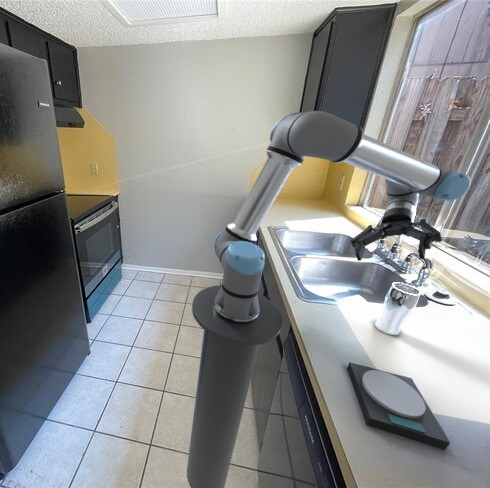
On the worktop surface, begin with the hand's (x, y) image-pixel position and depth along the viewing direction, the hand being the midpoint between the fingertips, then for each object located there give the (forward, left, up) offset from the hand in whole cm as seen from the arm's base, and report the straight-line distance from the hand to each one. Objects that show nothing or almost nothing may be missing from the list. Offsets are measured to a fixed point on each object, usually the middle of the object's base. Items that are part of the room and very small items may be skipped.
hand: (387, 256), depth 72 cm
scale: (+28, -1, -25) cm, 37 cm away
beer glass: (-2, +9, -25) cm, 27 cm away
